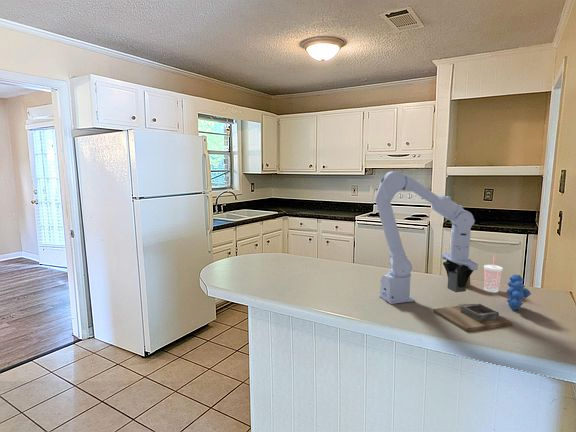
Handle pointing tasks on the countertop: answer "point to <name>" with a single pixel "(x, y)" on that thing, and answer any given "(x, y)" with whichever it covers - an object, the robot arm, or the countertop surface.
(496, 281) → the beverage cup
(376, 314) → the countertop surface
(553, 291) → the countertop surface
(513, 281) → the grapes
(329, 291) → the countertop surface
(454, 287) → the plug
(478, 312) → the charging dock
